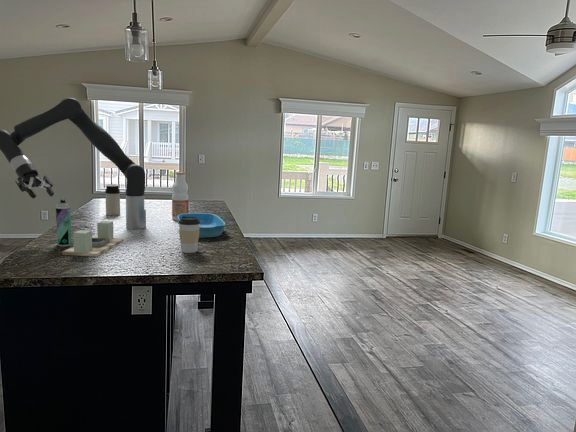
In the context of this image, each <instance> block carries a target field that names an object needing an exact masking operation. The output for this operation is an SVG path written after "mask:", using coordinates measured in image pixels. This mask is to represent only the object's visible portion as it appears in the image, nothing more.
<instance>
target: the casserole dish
mask: <svg viewBox="0 0 576 432" xmlns="http://www.w3.org/2000/svg"><path fill="white" fill-rule="evenodd" d="M183 216H185V217H196V218H197V219H198V220H199V221H200V225H199V239H200V238H215V237H216V238H217V237H219V236H222V234H223V231H224V228H225V227H226V222H225V221H224V220H223V219H222V218H221V217H220V216H219V215H217V214H213V213H207V212H206V213H205V212H188V213H185V214H179V215H178V216H177V217H178V221H177V222H179V220H181V218H182V217H183Z"/></svg>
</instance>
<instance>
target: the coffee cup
mask: <svg viewBox="0 0 576 432" xmlns="http://www.w3.org/2000/svg"><path fill="white" fill-rule="evenodd" d="M178 224H179V229H178V232H179V242H180V252H182V253H184V254H193V253H197V252H198V247H199V246H198V243H199V239H200V238H199V225H200V221H199V220H198V219H197V218H196V217H185V216H183V217H182V218H181V220H179V221H178Z"/></svg>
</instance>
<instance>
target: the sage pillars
mask: <svg viewBox="0 0 576 432" xmlns="http://www.w3.org/2000/svg"><path fill="white" fill-rule="evenodd" d="M96 227H97V228H96V231H97V232H96V233H97V237H98V238H107V239H109V241H110V240H112V239H114V221H111V220H110V221H109V220H102V221H99V222H97V223H96ZM92 232H93V231H92V230H86V229H85V230H84V229H79V230H76V231H74V232H72V235H73V237H72V238H73V239H72V240H73V247H74V252H81V253H87V252H89V251H91V250H92V238H93V234H92Z"/></svg>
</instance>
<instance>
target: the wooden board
mask: <svg viewBox="0 0 576 432" xmlns="http://www.w3.org/2000/svg"><path fill="white" fill-rule="evenodd" d="M92 238H98V236H92ZM123 242H125V240H124V238H117V237H116V238H114V239H112V240H110V241H109V243H108V244H107V245H105V246H103V247H101V248H93V247H92V250H91V251H89V252H87V253H81V252H74V246H72V247H70V248H68V249H65V250H63V251H62V255H63V256H64V255H65V256H67V255H68V256H81V257H95V258H97V257H98V256H100V255H103V254H104V253H106V252H108V251H109V250H111V249H113V248H114V247H117V246H119V245H120V244H121V243H123ZM107 250H108V251H107Z"/></svg>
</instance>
